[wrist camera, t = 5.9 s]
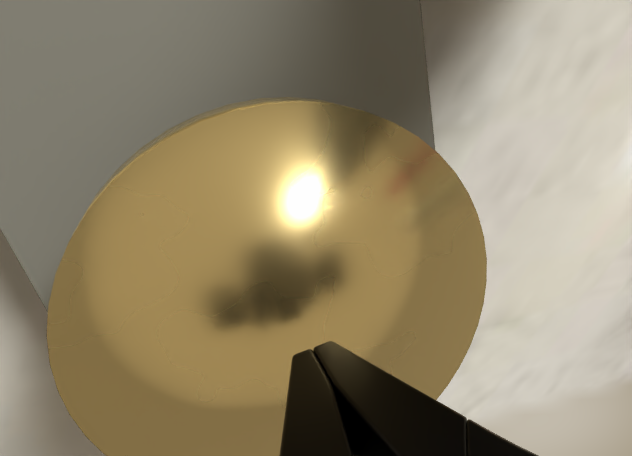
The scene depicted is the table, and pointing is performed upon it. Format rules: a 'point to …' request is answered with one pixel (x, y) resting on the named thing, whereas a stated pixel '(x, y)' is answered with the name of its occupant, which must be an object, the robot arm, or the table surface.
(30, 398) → the table surface
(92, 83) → the panel
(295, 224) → the knob
